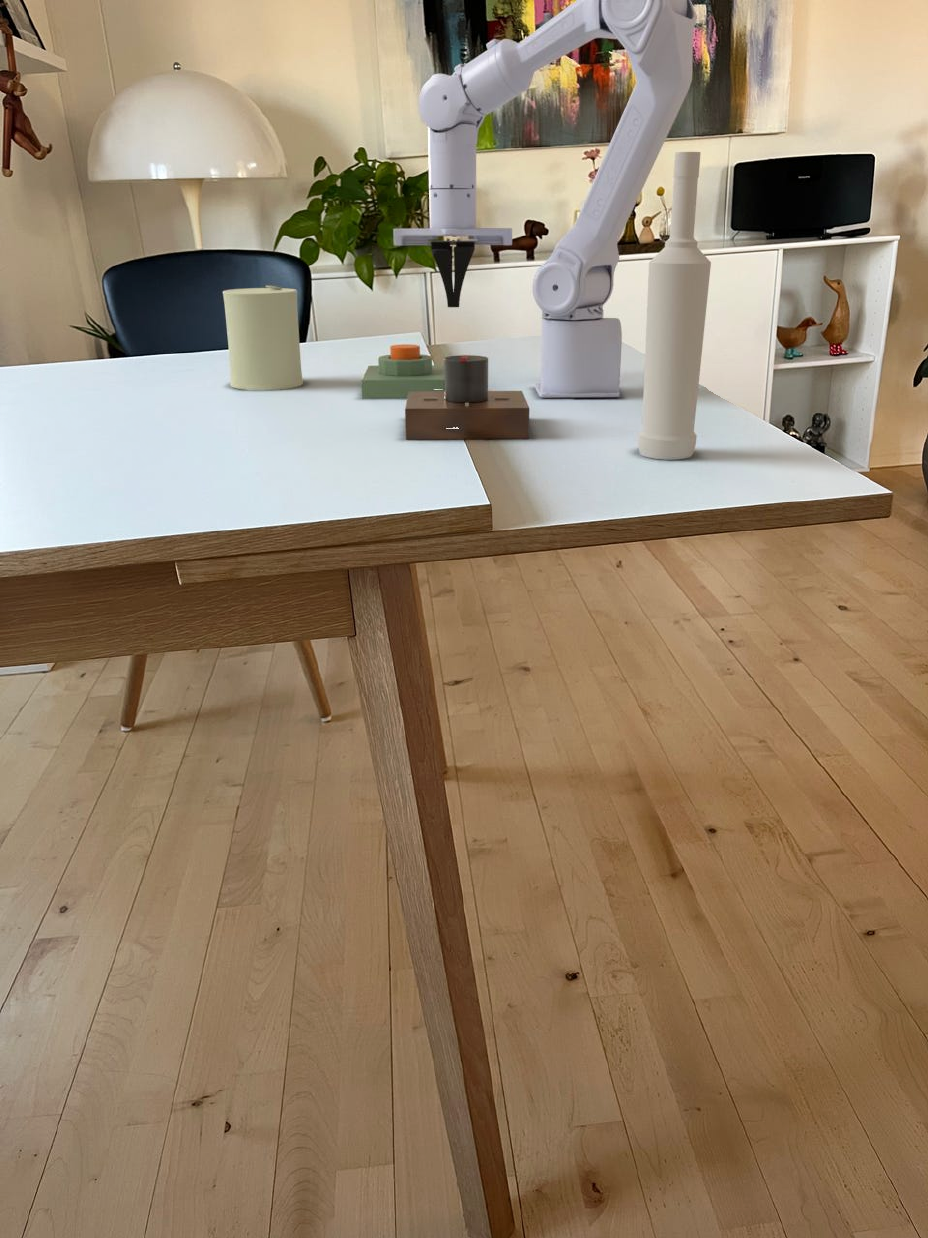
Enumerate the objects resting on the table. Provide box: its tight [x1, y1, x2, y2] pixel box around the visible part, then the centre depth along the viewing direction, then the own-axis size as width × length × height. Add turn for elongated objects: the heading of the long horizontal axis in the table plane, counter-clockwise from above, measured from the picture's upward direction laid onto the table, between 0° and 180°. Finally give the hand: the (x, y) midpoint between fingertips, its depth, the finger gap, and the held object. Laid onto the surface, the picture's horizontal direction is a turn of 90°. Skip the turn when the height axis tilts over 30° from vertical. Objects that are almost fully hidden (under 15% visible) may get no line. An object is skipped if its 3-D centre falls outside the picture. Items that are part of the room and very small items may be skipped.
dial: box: [443, 354, 489, 403], centre depth 101 cm, size 4×4×4 cm
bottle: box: [637, 151, 712, 461], centre depth 87 cm, size 5×5×25 cm
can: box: [222, 285, 304, 391], centre depth 127 cm, size 9×9×12 cm
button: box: [389, 343, 421, 360], centre depth 123 cm, size 4×4×2 cm
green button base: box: [360, 353, 444, 400], centre depth 124 cm, size 10×12×4 cm
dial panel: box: [404, 390, 530, 440], centre depth 102 cm, size 12×10×3 cm
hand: (453, 306), depth 127 cm, fingers closed
